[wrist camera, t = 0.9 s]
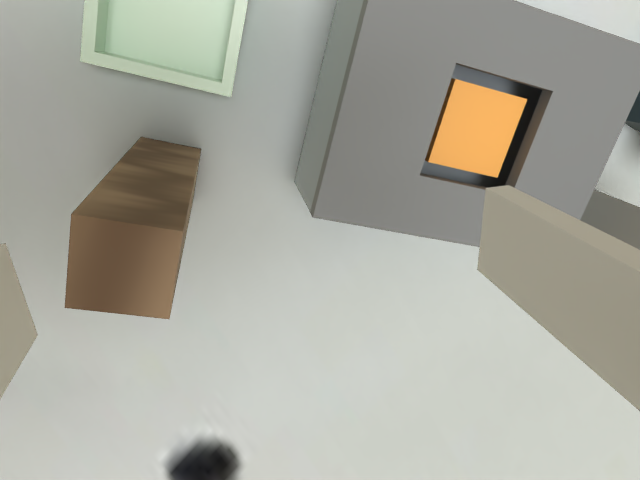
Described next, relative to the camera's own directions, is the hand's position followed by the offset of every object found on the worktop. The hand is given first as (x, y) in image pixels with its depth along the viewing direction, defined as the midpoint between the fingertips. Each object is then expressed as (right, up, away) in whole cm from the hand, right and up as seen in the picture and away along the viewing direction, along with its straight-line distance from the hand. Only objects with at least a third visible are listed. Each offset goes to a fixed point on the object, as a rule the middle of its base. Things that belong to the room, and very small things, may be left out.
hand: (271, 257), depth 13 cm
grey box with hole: (+10, +10, +22) cm, 26 cm away
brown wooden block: (-9, +5, +20) cm, 23 cm away
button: (+11, +8, +17) cm, 22 cm away
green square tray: (-8, +15, +16) cm, 23 cm away
